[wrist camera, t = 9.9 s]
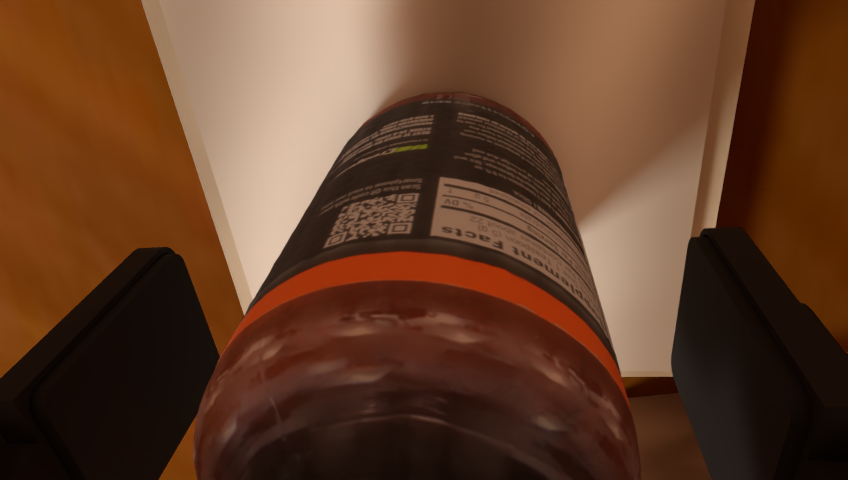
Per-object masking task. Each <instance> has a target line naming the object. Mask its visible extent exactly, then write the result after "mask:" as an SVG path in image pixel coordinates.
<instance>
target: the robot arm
mask: <svg viewBox="0 0 848 480" xmlns="http://www.w3.org/2000/svg"><path fill="white" fill-rule="evenodd" d="M219 359H220V356H219V354H218V351H217V348H216V346H215V343H214V340H213V338H212V335H211V332H210V329H209V327H208V324H207V321H206V319H205V316H204V313H203V311H202V308H201V305H200V303H199V300H198V297H197V295H196V292H195V289H194V286H193V284H192V281H191V278H190V276H189V273H188V270H187V268H186V265H185V262H184V260H183V258H182V257H181V256H180V255H178V254H175V252H174V251H173V250H172V249H170V248H168V247H158V248H138V249H136V250H135V251H133V252H132V253H131V254H130V255H129V256H128V257H127V258H126V259H125V260H124V261H123V262H122V263H121V264H120V265H119V266H118V267H117V268H116V269H115V270H114V271H113V272H111V273H110V274H109V275H108V276H107V277H106V278H105V279H104V280H103V281H102V282H101V283H100V284H99V285H98V286H97V287H96V288H95V289H94V290H93V291H92V292H91V293H90V294H88V295H87V296H86V297H85V298H84V299H83V300H82V301H81V302H80V303H79V304H78V305H77V306H76V307H75V308H74V309H73V310H72V311H71V312H70V313H69V314H68V315H67V316H65V317H64V318H63V319H62V320H61V321H60V322H59V323H58V324H57V325H56V326H55V327H54V328H53V329H52V330H51V331H50V332H49V333H48V334H47V335H46V336H45V337H43V338H42V339H41V340H40V341H39V342H38V343H37V344H36V345H35V346H34V347H33V348H32V349H31V350H30V351H29V352H28V353H27V354H26V355H25V356H24V357H23V358H22V359H20V360H19V361H18V362H17V363H16V364H15V365H14V366H13V367H12V368H11V369H10V370H9V371H8V372H7V373H6V374H5V375H4V376H3V377H2V378H1V379H0V480H158V479H159V478H160V476H161V474H162V473H163V471H164V469H165V467H166V466H167V464H168V462H169V461H170V459H171V457H172V456H173V454H174V452H175V450H176V449H177V447H178V445H179V444H180V442H181V440H182V439H183V437H184V435H185V433H186V432H187V430H188V428H189V427H190V425H191V423H192V421H193V420H194V418H195V416H196V415H197V413H198V410H199V407H200V403H201V400H202V398H203V395H204V392H205V390H206V387H207V385H208V383H209V381H210V379H211V376H212V375H213V373H214V371H215V368H216V365H217V362H218V360H219ZM671 369H672V375H673V378H674V381H675V383H676V386H677V389H678V391H679V394H680V397H681V399H682V402H683V405H684V407H685V410H686V413H687V415H688V418H689V421H690V423H691V426H692V429H693V431H694V434H695V437H696V439H697V442H698V445H699V447H700V450H701V453H702V455H703V458H704V461H705V463H706V466H707V469H708V471H709V474H710V477H711V479H712V480H848V355H847V354H846V353H845V352H844V350H843V349H842V348H841V346H840V345H839V344H838V343H837V341H836V340H835V339H834V338H833V336H832V335H831V334H830V332H829V331H828V330H827V329H826V327H825V326H824V325H823V323H822V322H821V321H820V320H819V318H818V317H817V316H816V314H815V313H814V312H813V311H812V310H811V309H810V308H809V307H808V306H807V305H806V304H803V303H800V302H799V301H798V300H797V298H796V297H795V296H794V294H793V293H792V292H791V290H790V289H789V288H788V287H787V285H786V284H785V283H784V281H783V280H782V279H781V277H780V276H779V275H778V273H777V272H776V271H775V270H774V268H773V267H772V266H771V264H770V263H769V262H768V260H767V259H766V258H765V256H764V255H763V254H762V253H761V251H760V250H759V249H758V247H757V246H756V245H755V243H754V242H753V241H752V239H751V238H750V237H749V236H748V234H747V233H746V232H745V230H744V229H742V228H741V227H726V228H704V229H703V230H702V231H701V233H700V236H699V237H691V238H690V240H689V242H688V247H687V254H686V260H685V267H684V274H683V281H682V287H681V294H680V301H679V307H678V314H677V321H676V327H675V334H674V341H673V347H672V354H671Z"/></svg>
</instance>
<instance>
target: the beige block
mask: <svg viewBox="0 0 848 480" xmlns="http://www.w3.org/2000/svg"><path fill="white" fill-rule="evenodd" d="M628 401H629V405H630V408H631V412H632V416H633V421H634V425H635V429H636V435H637V441H638V448H639V455H640V465H641V480H712V479H711V477H710V474H709V471H708V469H707V466H706V463H705V461H704V458H703V455H702V453H701V450H700V447H699V445H698V442H697V439H696V437H695V434H694V431H693V429H692V426H691V423H690V421H689V418H688V415H687V413H686V410H685V407H684V405H683V402H682V399H681V397H680V394H679V393H672V394H662V395H652V396H642V397H632V398H628Z"/></svg>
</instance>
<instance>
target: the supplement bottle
mask: <svg viewBox="0 0 848 480" xmlns="http://www.w3.org/2000/svg"><path fill="white" fill-rule="evenodd" d="M193 459H194V464H195V470H196V474H197V479H198V480H641V465H640V455H639V448H638V441H637V435H636V429H635V425H634V421H633V416H632V412H631V408H630V405H629V401H628V398H627V394H626V391H625V387H624V384H623V381H622V377H621V372H620V368H619V365H618V361H617V357H616V354H615V351H614V347H613V344H612V340H611V337H610V333H609V330H608V326H607V323H606V319H605V316H604V312H603V309H602V306H601V302H600V299H599V295H598V292H597V289H596V285H595V282H594V278H593V275H592V272H591V268H590V265H589V261H588V258H587V255H586V251H585V248H584V244H583V241H582V237H581V234H580V230H579V227H578V224H577V220H576V217H575V213H574V209H573V206H572V202H571V199H570V196H569V192H568V189H567V186H566V183H565V180H564V178H563V175H562V171H561V169H560V167H559V164H558V161H557V159H556V157H555V156H554V153H553V151H552V150H551V148H550V146H549V145H548V143H547V142H546V140H545V139H544V138H543V137H542V135H541V134H540V133H539V132H538V131H537V130H536V129H535V128H534V127H533V126H532V125H531V124H530V123H529V122H528V121H527V120H525V119H524V118H523V117H521V116H520V115H518V114H517V113H516V112H514V111H513V110H511V109H510V108H507V107H505V106H503V105H501V104H499V103H497V102H495V101H492V100H490V99H487V98H484V97H481V96H477V95H473V94H468V93H464V92H452V93H446V92H438V93H425V94H421V95H418V96H414V97H410V98H406V99H403V100H401V101H399V102H396V103H395V104H393V105H390V106H388V107H386V108H384V109H382V110H381V111H379V112H378V113H377V114H376V115H374V116H373V117H371V118H370V119H368V120H367V121H366V122H365V123H363V125H362V126H361V127H360V128H359V129H358V130H357V131H356V133H355V134H354V135H353V136H352V137H351V138H350V139H349V140H348V142H347V143H346V145H345V146H344V148H343V149H342V151H341V152H340V154H339V155H338V157H337V159H336V160H335V162H334V164H333V166H332V167H331V169H330V170H329V172H328V174H327V175H326V177H325V179H324V180H323V182H322V184H321V185H320V187H319V189H318V191H317V193H316V194H315V196H314V198H313V200H312V201H311V203H310V205H309V206H308V208H307V209H306V211H305V213H304V215H303V216H302V218H301V220H300V222H299V223H298V225H297V227H296V228H295V230H294V231H293V233H292V234H291V236H290V238H289V240H288V242H287V243H286V245H285V247H284V248H283V250H282V252H281V254H280V255H279V257H278V258H277V260H276V261H275V263H274V265H273V267H272V269H271V271H270V273H269V274H268V276H267V278H266V279H265V281H264V282H263V284H262V286H261V287H260V289H259V291H258V292H257V294H256V296H255V298H254V299H253V300H252V302H251V303H250V305H249V307H248V309H247V311H246V313H245V315H244V317H243V319H242V321H241V323H240V324H239V326H238V328H237V329H236V331H235V333H234V334H233V336H232V338H231V339H230V341H229V343H228V345H227V346H226V348H225V350H224V352H223V353H222V355H221V357H220V359H219V360H218V362H217V365H216V368H215V371H214V373H213V375H212V376H211V379H210V381H209V383H208V385H207V387H206V390H205V392H204V395H203V398H202V400H201V403H200V407H199V410H198V414H197V420H196V428H195V434H194V454H193Z"/></svg>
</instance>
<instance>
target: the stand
mask: <svg viewBox="0 0 848 480" xmlns="http://www.w3.org/2000/svg"><path fill="white" fill-rule="evenodd" d="M141 1H142V4H143V7H144V10H145V13H146V17H147V20H148V23H149V26H150V29H151V32H152V35H153V38H154V41H155V44H156V47H157V50H158V53H159V56H160V59H161V62H162V65H163V68H164V71H165V75H166V78H167V81H168V84H169V87H170V90H171V93H172V96H173V99H174V102H175V105H176V108H177V111H178V114H179V117H180V120H181V123H182V126H183V129H184V133H185V136H186V139H187V142H188V145H189V148H190V151H191V154H192V157H193V160H194V163H195V166H196V169H197V172H198V175H199V178H200V181H201V184H202V187H203V191H204V194H205V197H206V200H207V203H208V206H209V209H210V212H211V215H212V218H213V221H214V224H215V227H216V230H217V233H218V236H219V239H220V242H221V245H222V249H223V252H224V255H225V258H226V261H227V264H228V267H229V270H230V273H231V276H232V279H233V282H234V285H235V288H236V291H237V294H238V297H239V300H240V303H241V307H242V310H243V313H244V315H245V313H246V311H247V309H248V307H249V305H250V303H251V302H252V300H253V299H254V298H255V296H256V294H257V292H258V291H259V289H260V287H261V286H262V284H263V282H264V281H265V279H266V278H267V276H268V274H269V273H270V271H271V269H272V267H273V265H274V263H275V261H276V260H277V258H278V257H279V255H280V254H281V252H282V250H283V248H284V247H285V245H286V243H287V242H288V240H289V238H290V236H291V234H292V233H293V231H294V230H295V228H296V227H297V225H298V223H299V222H300V220H301V218H302V216H303V215H304V213H305V211H306V209H307V208H308V206H309V205H310V203H311V201H312V200H313V198H314V196H315V194H316V193H317V191H318V189H319V187H320V185H321V184H322V182H323V180H324V179H325V177H326V175H327V174H328V172H329V170H330V169H331V167H332V166H333V164H334V162H335V160H336V159H337V157H338V155H339V154H340V152H341V151H342V149H343V148H344V146H345V145H346V143H347V142H348V140H349V139H350V138H351V137H352V136H353V135H354V134H355V133H356V131H357V130H358V129H359V128H360V127H361V126H362V125H363V123H365V122H366V121H367V120H368V119H370V118H371V117H373V116H374V115H376V114H377V113H378V112H379V111H381V110H382V109H384V108H386V107H388V106H390V105H393V104H395V103H396V102H399V101H401V100H403V99H406V98H410V97H414V96H418V95H421V94H425V93H438V92H446V93H452V92H464V93H468V94H473V95H477V96H481V97H484V98H487V99H490V100H492V101H495V102H497V103H499V104H501V105H503V106H505V107H507V108H510V109H511V110H513V111H514V112H516V113H517V114H518V115H520V116H521V117H523V118H524V119H525V120H527V121H528V122H529V123H530V124H531V125H532V126H533V127H534V128H535V129H536V130H537V131H538V132H539V133H540V134H541V135H542V137H543V138H544V139H545V140H546V142H547V143H548V145H549V146H550V148H551V150H552V151H553V153H554V156H555V157H556V159H557V161H558V164H559V167H560V169H561V171H562V175H563V178H564V180H565V183H566V186H567V189H568V192H569V196H570V199H571V202H572V206H573V209H574V213H575V217H576V220H577V224H578V227H579V230H580V234H581V237H582V241H583V244H584V248H585V251H586V255H587V258H588V261H589V265H590V268H591V272H592V275H593V278H594V282H595V285H596V289H597V292H598V295H599V299H600V302H601V306H602V309H603V312H604V316H605V319H606V323H607V326H608V330H609V333H610V337H611V340H612V344H613V347H614V351H615V354H616V357H617V361H618V365H619V368H620V372H621V377H673V375H672V369H671V354H672V347H673V341H674V334H675V327H676V321H677V314H678V307H679V301H680V294H681V287H682V281H683V274H684V267H685V260H686V254H687V247H688V242H689V240H690V238H691V237H699V236H700V233H701V231H702V230H703V229H704V228H715V227H716V221H717V215H718V210H719V204H720V198H721V193H722V187H723V181H724V175H725V170H726V164H727V158H728V153H729V147H730V141H731V135H732V130H733V124H734V118H735V112H736V107H737V101H738V95H739V90H740V84H741V78H742V72H743V67H744V61H745V55H746V50H747V44H748V38H749V32H750V27H751V21H752V15H753V10H754V4H755V0H141Z"/></svg>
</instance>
